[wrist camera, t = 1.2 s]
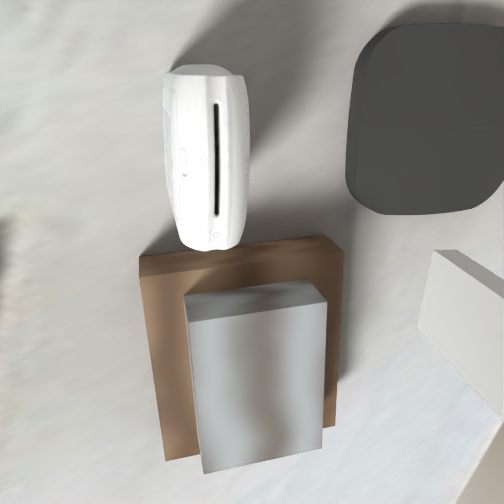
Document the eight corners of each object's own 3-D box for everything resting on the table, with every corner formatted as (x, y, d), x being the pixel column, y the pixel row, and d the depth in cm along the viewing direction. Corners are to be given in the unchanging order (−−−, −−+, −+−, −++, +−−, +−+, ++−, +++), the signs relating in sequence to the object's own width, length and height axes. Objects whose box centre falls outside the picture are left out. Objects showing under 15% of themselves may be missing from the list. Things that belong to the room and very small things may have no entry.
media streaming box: (354, 24, 34) (372, 19, 31) (517, 29, 37) (547, 26, 34) (338, 210, 39) (353, 220, 36) (482, 201, 42) (505, 210, 39)
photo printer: (219, 203, 36) (256, 262, 25) (165, 205, 35) (178, 268, 24) (219, 65, 32) (263, 62, 21) (159, 63, 31) (171, 58, 20)
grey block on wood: (163, 428, 43) (168, 500, 35) (139, 256, 36) (139, 302, 29) (319, 397, 46) (353, 458, 39) (324, 234, 39) (367, 271, 32)
